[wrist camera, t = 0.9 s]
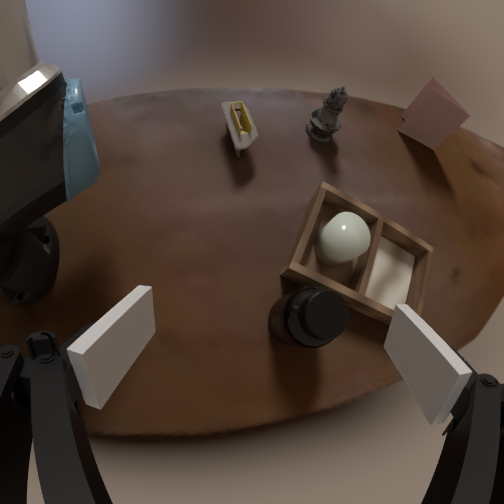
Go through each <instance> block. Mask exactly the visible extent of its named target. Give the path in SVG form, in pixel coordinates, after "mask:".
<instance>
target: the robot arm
mask: <svg viewBox="0 0 504 504" xmlns="http://www.w3.org/2000/svg"><path fill="white" fill-rule="evenodd" d="M99 173H100V164H99V158H98V154H97V149H96V145H95V140H94V136H93V132H92V127H91V123H90V118H89V114H88V109H87V104H86V100H85V95H84V92H83V88H82V83H81V80H80V79H78V78H76V79H69V80H68V81H67V82H65V80H64V77H63V74H62V71H61V69H60V67H57V66H54V65H50V64H46V63H43V62H42V61H41V59H40V56H39V53H38V50H37V47H36V43H35V40H34V36H33V33H32V29H31V25H30V21H29V17H28V13H27V8H26V4H25V0H0V298H2V299H3V300H4V301H6V302H8V303H11V304H15V305H19V306H26V305H30V304H32V303H34V302H36V301H37V300H39V299H40V298H41V297H42V296H43V295H44V294H45V292H46V291H47V290H48V288H49V286H50V285H51V283H52V281H53V278H54V276H55V273H56V269H57V265H58V260H59V241H58V236H57V233H56V230H55V228H54V226H53V225H52V223H51V222H50V221H49V220H48V219H47V218H46V217H45V216H43V215H45V214H47V213H48V212H50V211H51V210H53V209H54V208H56V207H57V206H59V205H61V204H62V203H64V202H66V201H68V202H70V201H71V200H72V198H73V197H74V196H75V195H77V194H79V193H80V192H82V191H83V190H85V189H87V188H88V187H90V186H91V185H93V184H94V183H95V181H96V180H97V178H98V176H99ZM154 333H155V321H154V310H153V297H152V287H149V286H141V285H139V286H138V287H137V288H135V289H134V290H133V291H132V292H131V293H129V294H128V295H127V296H126V297H125V298H123V299H122V300H121V301H120V302H119V303H118V304H116V305H115V306H114V307H113V308H112V309H111V310H110V311H108V312H107V313H106V314H105V315H104V316H103V317H102V318H100V319H99V320H98V321H97V322H96V323H95V322H92V323H89V324H87V325H85V326H83V327H82V328H81V329H80V330H79V331H77V333H75V334H74V335H73V336H72V337H71V338H69V339H68V340H67V341H66V342H65V343H64V344H63V345H61V346H60V347H58V344H57V340H56V337H55V334H53V333H52V332H50V331H38V332H35V333H33V334H31V335H29V336H28V337H27V339H26V341H25V342H26V345H27V348H28V351H29V354H30V357H31V358H30V357H23V356H22V355H21V353H20V350H19V348H18V347H17V346H16V345H12V344H11V345H5V346H4V345H3V346H2V347H0V504H27V480H28V469H29V460H30V452H31V445H32V439H33V442H34V451H35V458H36V464H37V470H38V475H39V481H40V485H41V490H42V494H43V498H44V502H45V504H113V503H112V501H111V499H110V497H109V494H108V492H107V490H106V487H105V485H104V482H103V480H102V477H101V475H100V472H99V470H98V467H97V464H96V461H95V458H94V455H93V452H92V449H91V446H90V443H89V440H88V436H87V433H86V429H85V425H84V422H83V418H82V414H81V409H80V405H79V403H78V400H77V399H78V398H79V397H80V395H81V394H82V396H83V399H84V401H85V403H86V404H87V405H89V406H92V407H95V408H97V409H100V410H101V409H102V408H103V406H104V405H105V403H106V402H107V400H108V399H109V397H110V396H111V394H112V393H113V391H114V390H115V389H116V387H117V386H118V384H119V383H120V381H121V380H122V378H123V377H124V376H125V374H126V373H127V371H128V370H129V368H130V367H131V366H132V364H133V363H134V361H135V360H136V358H137V357H138V356H139V354H140V353H141V351H142V350H143V349H144V347H145V346H146V344H147V343H148V342H149V340H150V339H151V337H152V336H153V335H154ZM384 349H385V350H386V352H387V353H388V355H389V356H390V358H391V360H392V361H393V363H394V364H395V366H396V368H397V369H398V371H399V373H400V374H401V376H402V377H403V379H404V381H405V382H406V384H407V386H408V387H409V389H410V391H411V392H412V394H413V396H414V397H415V399H416V401H417V402H418V404H419V406H420V408H421V410H422V411H423V413H424V415H425V417H426V418H427V420H428V422H429V424H430V425H431V426H432V425H436V424H440V423H443V422H444V421H445V420H446V418H447V417H448V415H449V413H450V412H451V414H452V415H453V419H452V421H451V422H450V424H449V425H448V426H447V428H446V429H445V431H444V432H443V434H442V435H443V436H444V435H445V433H446V432H447V436H446V440H445V443H444V446H443V449H442V453H441V455H440V458H439V461H438V464H437V467H436V470H435V472H434V475H433V478H432V480H431V482H430V485H429V487H428V490H427V492H426V494H425V497H424V499H423V501H422V503H421V504H504V384H499V382H498V380H497V379H496V378H494V377H493V376H491V375H489V374H479V375H478V374H477V372H476V371H475V370H474V369H473V368H472V367H471V366H470V365H469V364H468V363H467V362H466V361H464V358H463V357H462V356H460V354H459V353H458V352H457V351H456V350H455V349H454V348H452V347H451V346H449V345H447V344H446V343H445V342H444V341H443V340H442V339H441V338H440V337H439V336H438V335H437V333H436V332H435V331H434V330H433V329H432V328H431V327H430V326H429V325H428V324H427V323H426V322H425V321H424V320H423V319H422V318H420V317H419V316H418V315H417V314H416V313H415V312H414V311H413V310H412V309H411V308H410V307H409V306H408V305H407V304H396V305H395V309H394V312H393V316H392V320H391V323H390V327H389V330H388V334H387V337H386V340H385V343H384ZM11 395H12V397H11Z"/></svg>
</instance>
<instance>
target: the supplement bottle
mask: <svg viewBox="0 0 504 504" xmlns="http://www.w3.org/2000/svg"><path fill="white" fill-rule="evenodd" d="M349 315H350V314H349V308H348V305H347V303H346V301H345V300H344V298H343V297H341V295H340V294H337V293H336V292H333V291H329V290H327V289H325V288H323V287H319V286H307V287H304V288H301V289H299V290H297V291H294V292H292V293H290V294H288V295H286V296H284V297H282V298H280V299H279V300H278V301H277V302H276V303H275V304H274V305H273V306H272V308H271V310H270V313H269V319H268V322H269V327H270V330H271V332H272V334H273V335H274V337H275V338H276V339H277V340H279V341H280V342H282V343H284V344H288V345H292V346H298V347H305V348H319V347H322V346H325V345H326V344H328V343H330V342H331V341H332V340H333V339H334V338H336V337H337V336H338V335H341V333H342V332H344V329H345V328H346V327H347V324H348V321H349Z"/></svg>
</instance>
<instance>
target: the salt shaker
mask: <svg viewBox="0 0 504 504" xmlns="http://www.w3.org/2000/svg"><path fill="white" fill-rule="evenodd" d="M347 98H348V94H347V92H346V91H345V88H344V87H341V88H334V89H333V90H332V91H331V93H330V95H329V97H328V98H327V99H325V100H324V102H323V104H324V105H323V107H322V108H316V109H314V110H312V111H311V113H310V122H309V123H308V124H307V125H306V132H307V133H308V135H309V136H310V137H311V138H312V139H314V140H316V141H318V142H324V143H325V142H329V141H330V140H331V139H332V134H333V133H335V132H336V131H338V130H339V129H340V127H341V122H340V120H339V118H338V115H339V113H341V112H342V111H343V105H344V104H345V102H346V100H347Z"/></svg>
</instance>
